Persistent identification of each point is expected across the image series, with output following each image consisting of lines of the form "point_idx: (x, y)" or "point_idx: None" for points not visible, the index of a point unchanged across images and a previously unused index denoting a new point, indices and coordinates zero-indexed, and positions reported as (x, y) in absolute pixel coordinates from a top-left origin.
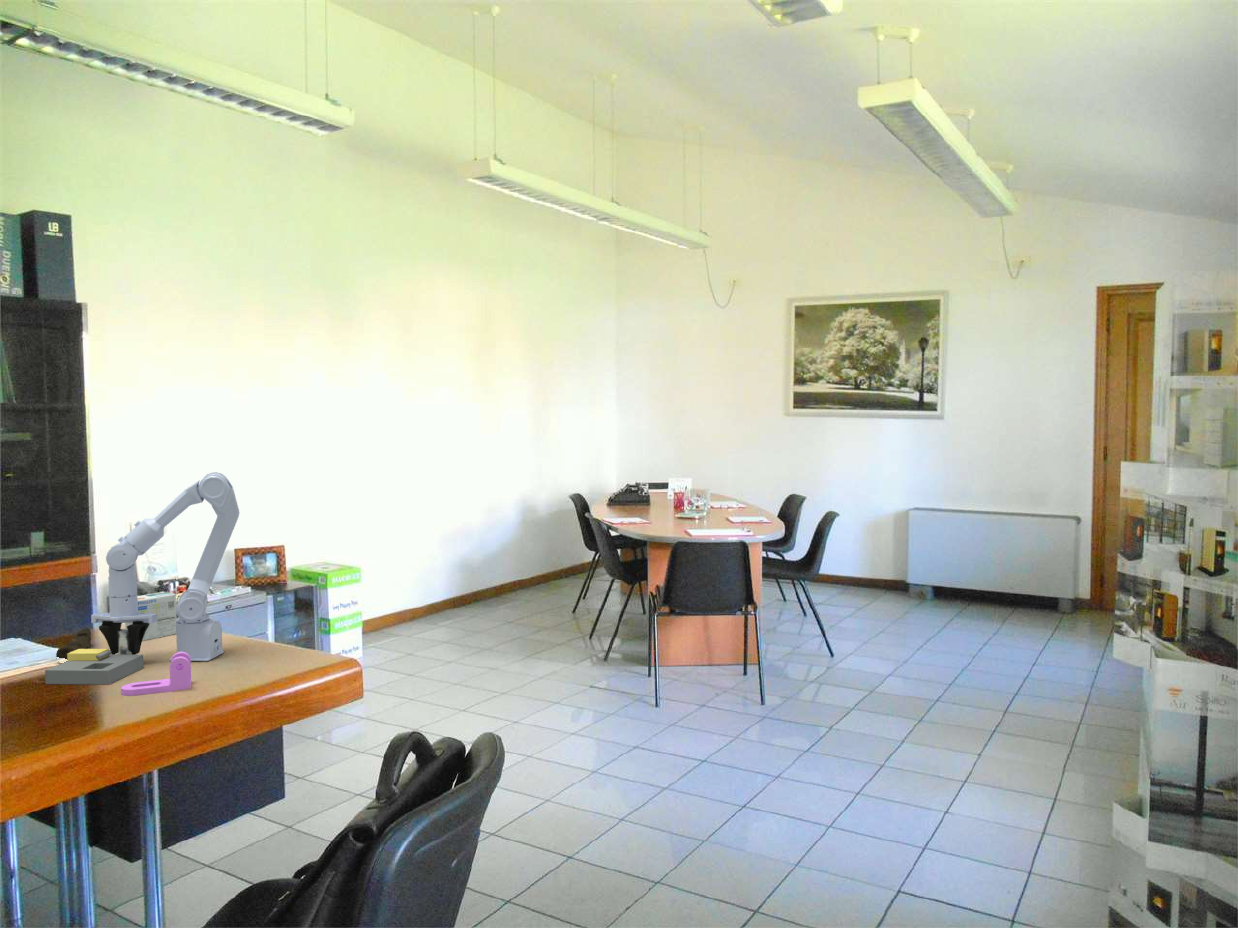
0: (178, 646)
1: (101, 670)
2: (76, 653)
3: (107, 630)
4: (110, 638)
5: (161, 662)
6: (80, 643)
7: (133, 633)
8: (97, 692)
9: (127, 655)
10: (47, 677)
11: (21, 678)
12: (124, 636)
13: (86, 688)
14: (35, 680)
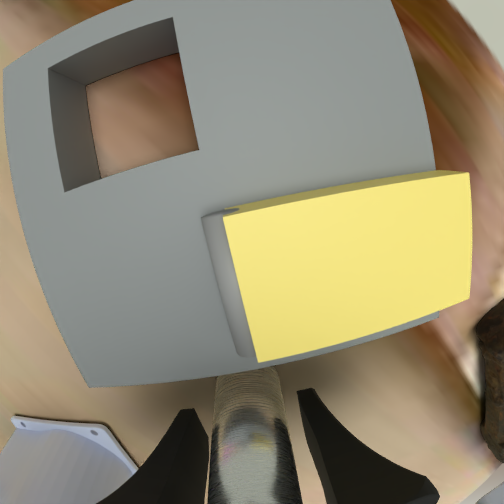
0: (72, 467)
1: (34, 52)
2: (414, 182)
3: (346, 498)
4: (323, 454)
5: (120, 413)
6: (500, 405)
7: (123, 497)
8: (29, 9)
9: (148, 364)
10: None
11: (498, 93)
12: (221, 487)
13: (97, 8)
14: (440, 61)
